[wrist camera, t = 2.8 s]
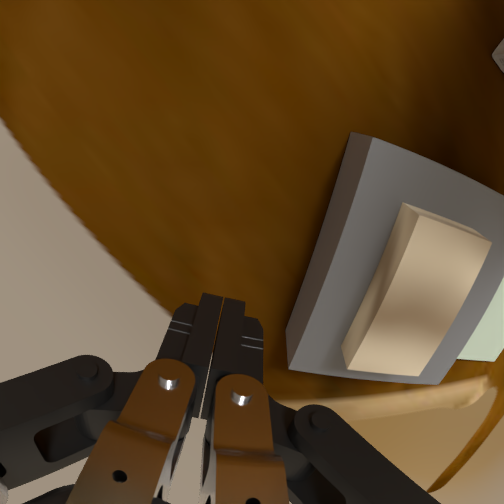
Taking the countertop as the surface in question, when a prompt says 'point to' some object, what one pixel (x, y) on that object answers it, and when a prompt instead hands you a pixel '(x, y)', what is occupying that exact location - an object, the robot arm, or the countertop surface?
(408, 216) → the tile
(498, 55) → the coffee box
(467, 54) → the countertop surface
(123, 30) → the countertop surface
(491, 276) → the grey flat block
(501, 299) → the mat
